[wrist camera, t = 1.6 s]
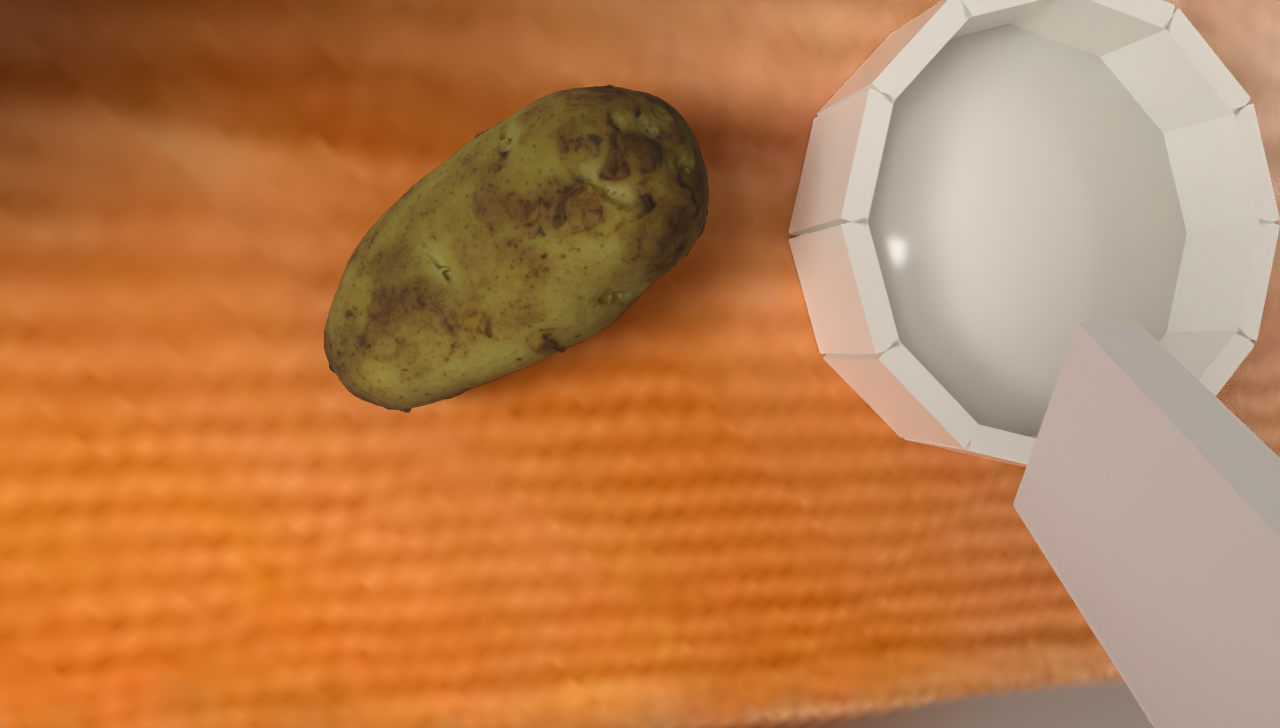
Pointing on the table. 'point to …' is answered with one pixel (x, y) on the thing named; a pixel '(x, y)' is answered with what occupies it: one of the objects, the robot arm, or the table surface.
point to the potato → (518, 246)
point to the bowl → (1029, 211)
